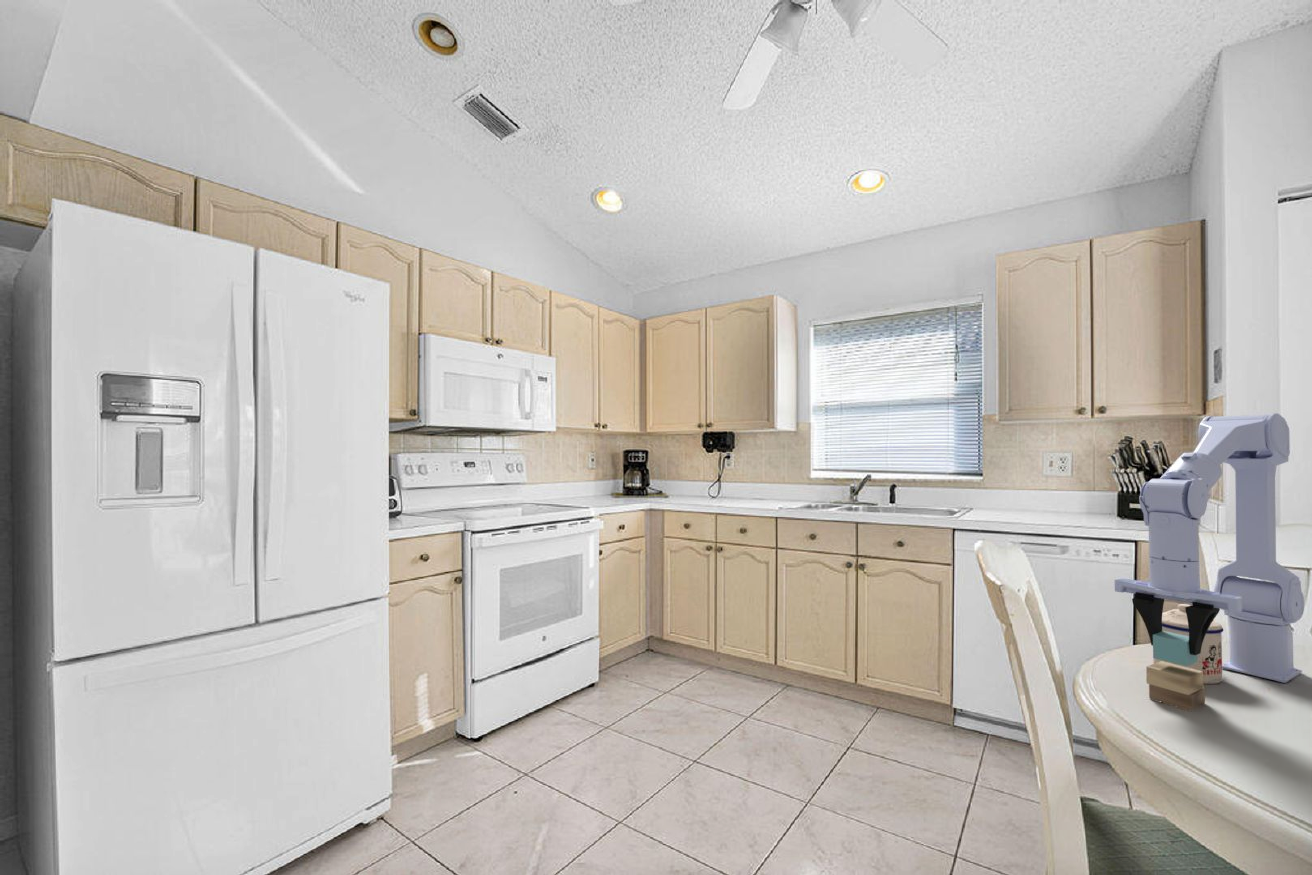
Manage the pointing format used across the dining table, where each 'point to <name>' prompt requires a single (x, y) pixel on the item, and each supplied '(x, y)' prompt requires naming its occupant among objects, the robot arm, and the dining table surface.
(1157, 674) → the oak slab upper
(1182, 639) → the teal block
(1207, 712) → the dining table surface
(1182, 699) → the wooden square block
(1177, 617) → the ceramic jar
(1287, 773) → the dining table surface
